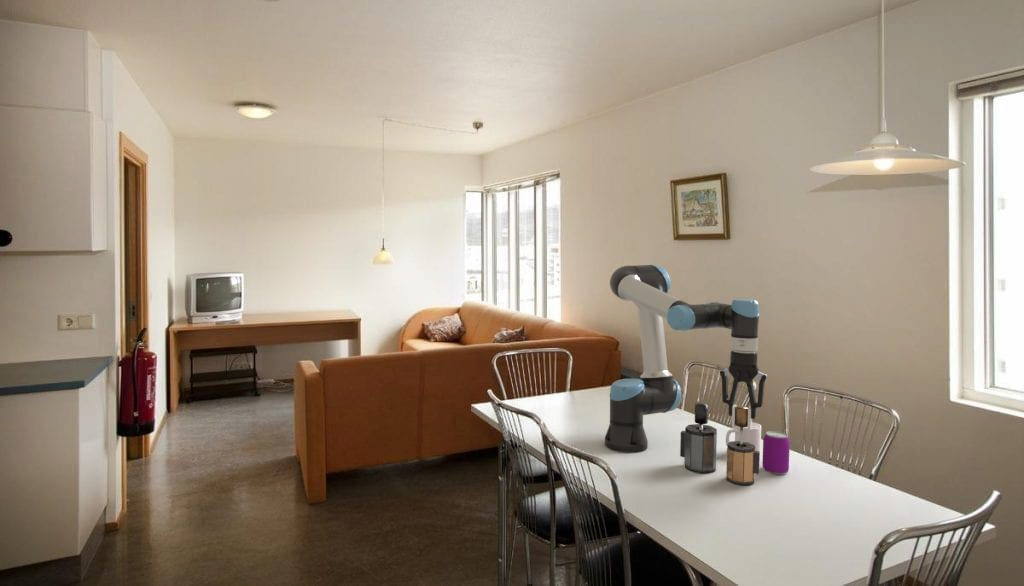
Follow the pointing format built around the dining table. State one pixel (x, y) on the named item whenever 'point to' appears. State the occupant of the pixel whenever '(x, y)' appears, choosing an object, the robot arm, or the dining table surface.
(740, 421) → the plunger
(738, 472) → the carafe
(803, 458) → the dining table surface
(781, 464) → the beverage can
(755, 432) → the cup
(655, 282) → the robot arm
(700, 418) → the plunger
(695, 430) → the carafe
